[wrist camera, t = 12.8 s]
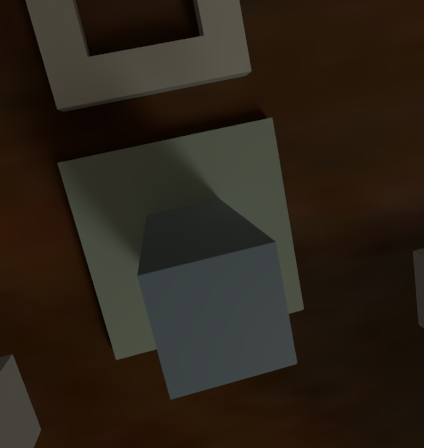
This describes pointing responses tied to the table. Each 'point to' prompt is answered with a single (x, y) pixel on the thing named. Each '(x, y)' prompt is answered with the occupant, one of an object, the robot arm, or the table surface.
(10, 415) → the robot arm
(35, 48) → the table surface
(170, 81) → the pocket collar
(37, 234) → the table surface
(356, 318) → the table surface
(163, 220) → the slate block
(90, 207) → the pad
